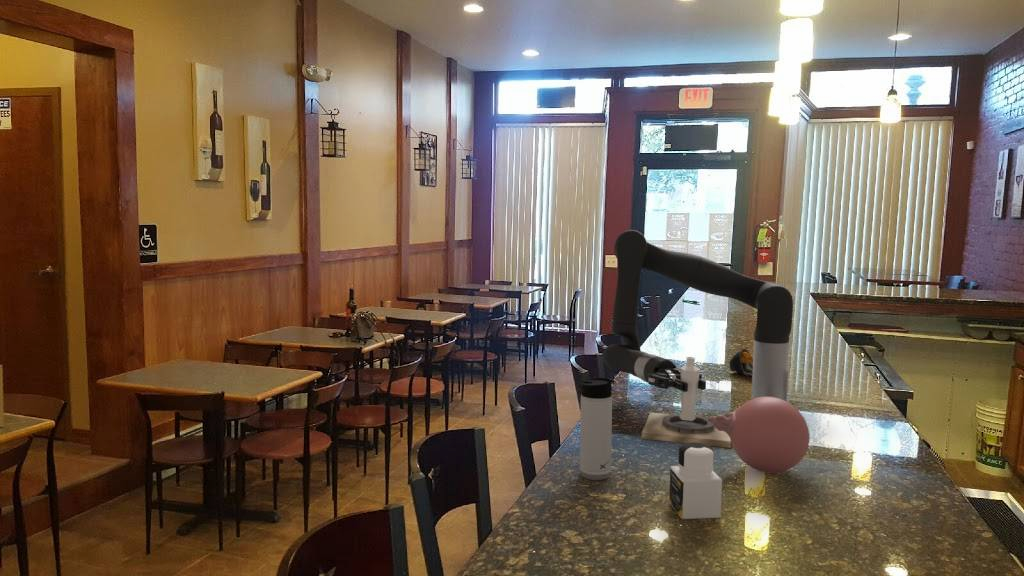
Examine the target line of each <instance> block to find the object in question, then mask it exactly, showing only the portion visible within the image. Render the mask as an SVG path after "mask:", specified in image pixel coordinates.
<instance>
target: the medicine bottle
mask: <svg viewBox="0 0 1024 576" xmlns="http://www.w3.org/2000/svg"><path fill="white" fill-rule="evenodd" d="M714 458H715V450H714V449H713V448H712V446H709V445H705V444H702V443H696V442H691V443H682V444H681V445H680V446H679V448H678V463H677V465H671V466H670V467H669V469H670V470H669V471H670V472H669V473H670V474H669V502H668V503H669V504H670V505H671V507H672V508H673V509H674V510H675V512H676V513H677V514H678V517H680V519H681V520H698V519H699V520H700V519H703V520H704V519H720V518H721V515H722V510H721V509H722V492H723V491H722V490H723V489H722V488H723V487H722V486H723V480H722V478H721V477H720V476H719V475H718V474H717V473H716V472H715V471H714V465H715V464H714V463H715V459H714Z"/></svg>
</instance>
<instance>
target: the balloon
mask: <svg viewBox="0 0 1024 576" xmlns="http://www.w3.org/2000/svg"><path fill="white" fill-rule="evenodd" d="M707 418H708V421H709V422H712V423H713V425H714V426H715V427H716V428H717V429H718V430H719V431H724V432H726V433H727V434H728V436H729V437H730V440H731V445H732V448H733V450H734V452H735V453H736V455H737V457H738V458H739V459H740V460H741V461H742V462H743V463H745V465H747V466H748V467H750V468H752V469H754V470H756V471H759V472H763V473H765V474H766V473H769V474H776V473H777V474H778V473H783V472H786V471H789V470H790V469H792V468H794V467H796V466H797V465H798V464H799V463H800V462H801V461H802V460H803V459H804V457H805V455H806V453H807V452H808V449H809V446H810V431H809V426H808V423H807V421H806V419H805V417H804V416H803V414H802V413H801V412H800V410H798V409H797V407H796V406H794V405H793V404H791V403H790V402H788V401H787V402H786V401H784V400H782V399H779V398H775V397H758V398H754V399H752V398H751V399H750V400H748V401H746V402H744V403H743V404H742V405H740V406H739V407H737V408H735V409H734V410H733V411H729V412H727V413H724V414H718V415H716V416H715V415H713V416H711V415H710V416H708V417H707Z"/></svg>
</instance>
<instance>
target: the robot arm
mask: <svg viewBox="0 0 1024 576" xmlns="http://www.w3.org/2000/svg"><path fill="white" fill-rule="evenodd" d="M613 253H614V256H615V258H616V260H617V280H616V281H617V283H616V290H615V296H614V303H613V312H612V321H611V322H612V323H611V330H612V331H611V332H612V334H614V335H615V336H618V337H621V338H622V340H623V344H621V343H620V344H619V343H613V344H610V345H609V344H608V346H607V347H605V349H604V351H603V354H602V357H603V358H602V359H603V363H604V364H605V365H606V366H607V367H608V368H609V369H611V370H613V371H617V372H621V373H626V374H630V375H632V376H633V377H636V378H638V379H640V380H642V381H643V382H644V383H647V384H648V385H649V386H654V387H656V388H658V389H665V390H667V389H672V390H675V389H676V390H679V391H680V392H681V391H683V392H687V391H688V383H687V382H684V381H682V380H681V368H678V367H677V366H676V365H675V363H674V362H673V361H671V360H669V359H667V358H664V357H661V356H659V355H656V354H653V353H647V352H645V351H642V350H641V345H640V341H639V335H638V330H637V329H638V321H639V320H638V319H639V318H638V317H639V300H640V297H639V295H640V281H641V275H642V274H641V272H642V270H646V271H650V272H653V273H656V274H658V275H660V276H663V277H665V278H667V279H670V280H671V281H674V282H677V283H679V284H681V285H684V286H686V287H688V288H690V289H694V290H696V291H700V292H702V293H706V294H709V295H713V296H718V297H723V298H729V299H733V300H735V301H739V302H741V303H743V304H746V305H748V306H749V307H751V308H754V309H755V310H756V325H755V330H754V333H753V336H754V337H753V352H752V353H753V354H752V358H753V375H752V379H751V400H752V399H754V398H758V397H775V398H779V399H782V400H784V401H786V402H788V384H789V366H788V365H789V349H790V336H791V332H792V326H793V315H794V314H793V313H794V312H793V311H794V300H793V295H792V293H791V292H790V291H789V289H788V288H786V287H785V286H783V285H781V284H778V283H775V282H770V281H766V280H761V279H757V278H754V277H750V276H747V275H745V274H742V273H739V272H737V271H735V270H733V269H732V268H730V267H728V266H725V265H724V264H721V263H720V262H716V261H715V260H712V259H708V258H705V257H703V256H700V255H698V254H693V253H689V252H683V251H682V252H681V251H677V250H676V251H675V250H669V249H665V248H662V247H660V246H657V245H655V244H653V243H650V242H648V241H647V239H646V237H645V236H644V235H643V234H642V232H640V231H639V230H635V229H628V230H625V231H623V232H621V233H620V234H619V235H618V236H617V238H616V239H615V242H614V245H613ZM706 388H707V381H706V380H704V379H703V375H702V374H701V373H700V374H699V382H698V389H699V390H701V391H706ZM698 389H697V390H698Z"/></svg>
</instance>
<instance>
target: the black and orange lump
mask: <svg viewBox="0 0 1024 576" xmlns="http://www.w3.org/2000/svg"><path fill="white" fill-rule="evenodd" d="M729 369H730V371H731V372H736V373H737V374H739V375H743V376H747V377H748V378H752V375H753V355H752V354H751V353H750V352H749V350H748V349H746V348H742V349H741V350H740V351H738V352H736V353H735V354H734V355H733V357H731V358H730V360H729Z"/></svg>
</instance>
